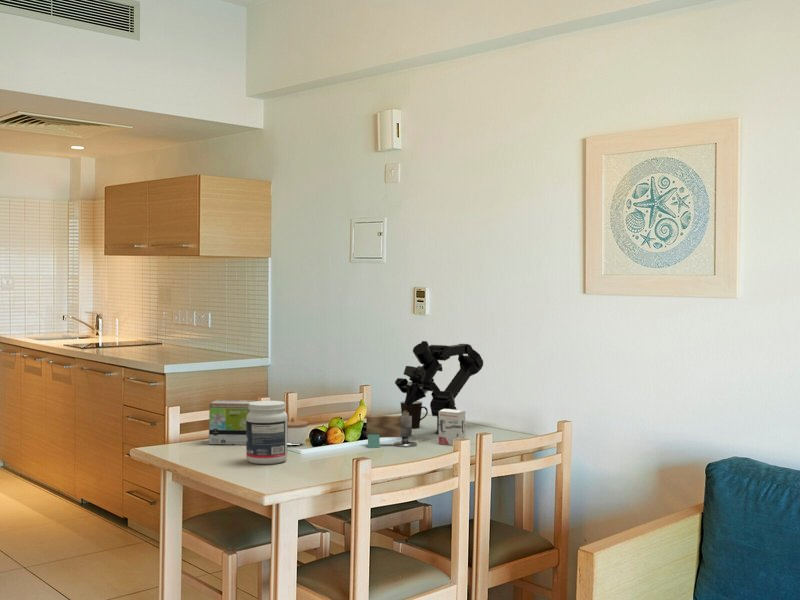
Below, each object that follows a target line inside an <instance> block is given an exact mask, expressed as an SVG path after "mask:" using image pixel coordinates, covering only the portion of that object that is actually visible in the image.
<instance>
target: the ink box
mask: <svg viewBox="0 0 800 600" xmlns="http://www.w3.org/2000/svg"><path fill="white" fill-rule="evenodd" d="M466 435H467V434H466V410H463V409H457V410H454V409H442V410H440V411H439V434H438V444H439V445H447V446H453V445H452V444H453V440H454V439H457V438H466Z"/></svg>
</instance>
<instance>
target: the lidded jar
mask: <svg viewBox="0 0 800 600" xmlns="http://www.w3.org/2000/svg"><path fill="white" fill-rule="evenodd" d="M308 426H309V422H308V421H305V420H298V419H297V420H296V419H295V418H294V417H291V418H290V420H288V436H287V440H288V442H287V443H291V444H301V443H302V444H303V443H304V442H305V440H306V438H307V436H308V431H309V430H308ZM302 444H301V445H302Z"/></svg>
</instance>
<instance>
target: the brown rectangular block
mask: <svg viewBox="0 0 800 600" xmlns="http://www.w3.org/2000/svg"><path fill="white" fill-rule="evenodd" d="M365 418H366V424H365V425H366V431H365V432H366V436H365V437H366V438H368V433H380V438H402V437H409V438H410V437H412V435H413V432H412V431H413V429H412V416H408V415H402V414H401V415H366V417H365Z"/></svg>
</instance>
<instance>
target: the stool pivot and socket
mask: <svg viewBox="0 0 800 600" xmlns="http://www.w3.org/2000/svg"><path fill="white" fill-rule="evenodd" d="M380 438H381V437H380V433H368V437H367V448H368V449H369V448H370V449H371V448H373V449H375V448H377V449H379V448H380V444H381V442H380ZM409 439H410V437H401V440H400V441H395V442H393V446H395V447H398V448H412V447H416V446H417V445H418V442H415V441H410V440H409Z"/></svg>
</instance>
